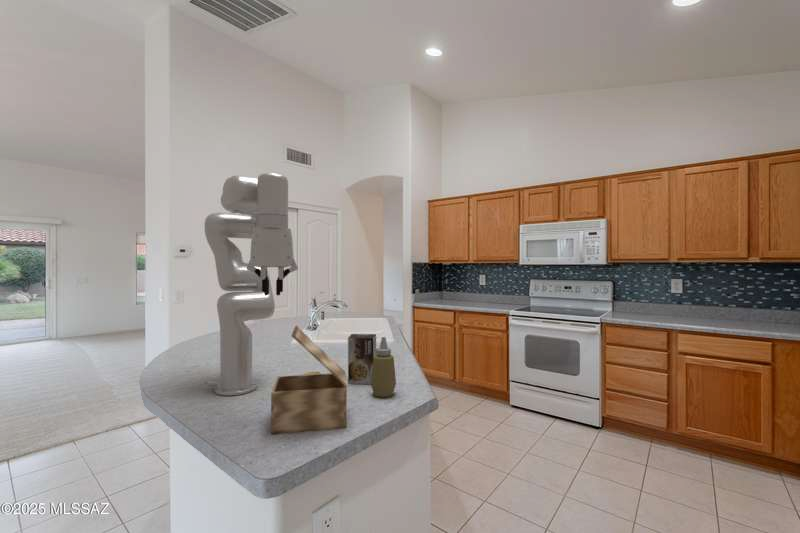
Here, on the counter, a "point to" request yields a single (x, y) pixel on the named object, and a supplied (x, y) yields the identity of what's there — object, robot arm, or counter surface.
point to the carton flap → (319, 355)
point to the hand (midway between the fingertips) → (272, 294)
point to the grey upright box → (361, 358)
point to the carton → (308, 403)
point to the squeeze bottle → (383, 371)
